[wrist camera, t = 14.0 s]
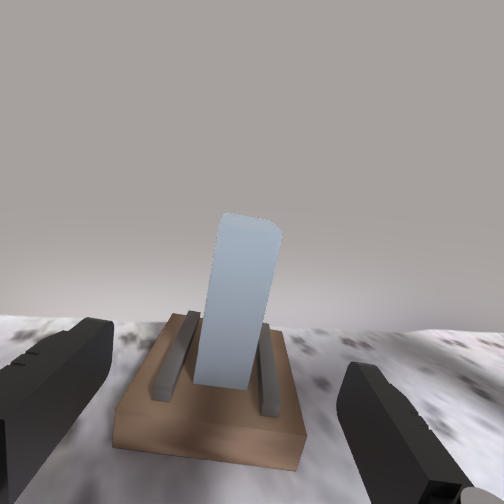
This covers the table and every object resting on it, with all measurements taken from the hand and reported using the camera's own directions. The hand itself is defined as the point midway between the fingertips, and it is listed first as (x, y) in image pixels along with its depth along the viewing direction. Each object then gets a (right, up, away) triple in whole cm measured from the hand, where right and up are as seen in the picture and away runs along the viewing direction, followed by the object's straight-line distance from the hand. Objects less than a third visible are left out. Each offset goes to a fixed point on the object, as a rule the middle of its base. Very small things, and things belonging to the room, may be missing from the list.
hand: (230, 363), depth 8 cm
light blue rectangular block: (-2, -5, +13) cm, 14 cm away
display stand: (-2, -8, +14) cm, 16 cm away
